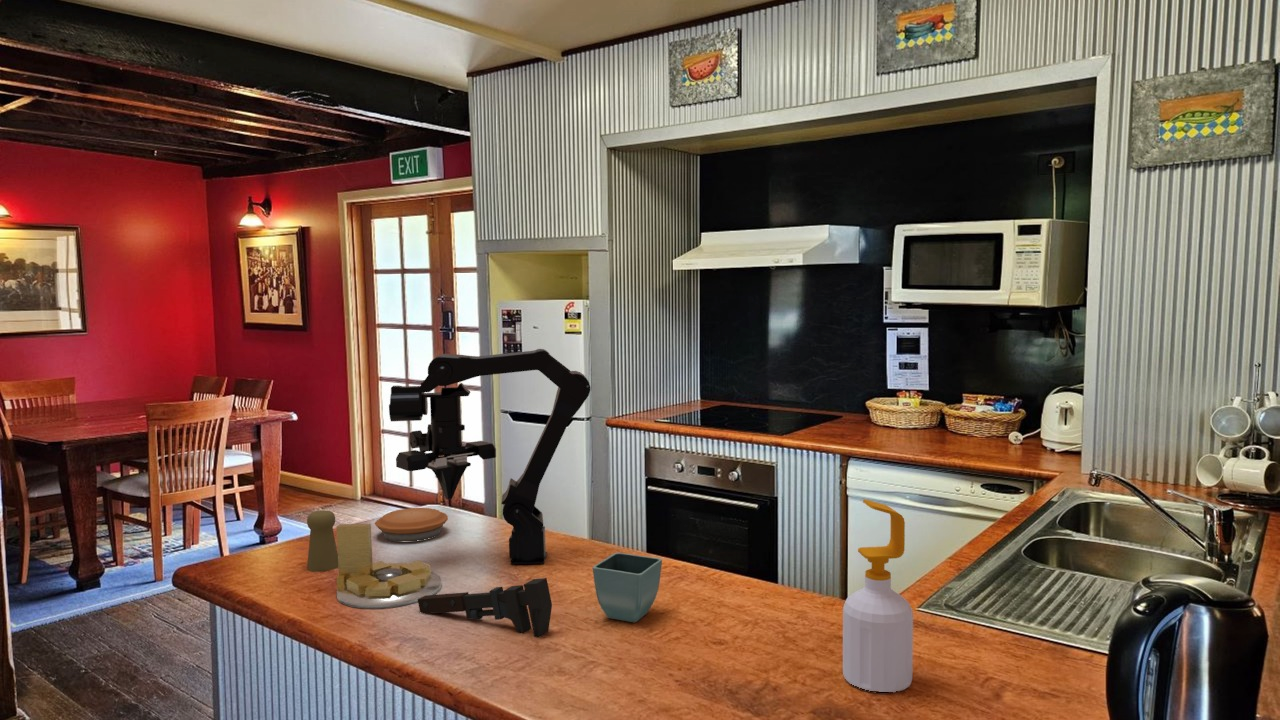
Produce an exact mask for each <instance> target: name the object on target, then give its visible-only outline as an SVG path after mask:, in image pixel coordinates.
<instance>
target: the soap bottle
mask: <svg viewBox="0 0 1280 720" xmlns="http://www.w3.org/2000/svg"><path fill="white" fill-rule="evenodd" d="M862 503H863V504H865V506H867V507H869V508H870V509H872V510H875V511H878V512H882V513H886V514H889V516H890V538H889V543H888V544H887V545H884V546H864V547H858V548H857V552H858V553H859V555H861V556H862V557H863V558H864V559H866V560H867V562H869V563H871V568H869V569H868V568H867V569H866V570H865V571H864V572H865V573H864V574H865V575H864V580H865V581H864V586H863V588H860V589H858V590H856V591H854V592H852V594H850V595H848V597H847V598H846V599H845V602H844V605H843V607H842V674H843V677H844V680H845V679H846V680H845V681H846V682H848V683H849V684H850V685H851V684H852V685H851V686H853V685H854V686H853V687H855V686H857V687H859V688H858V689H860V688H862V689H865V690H864V691H866V690H869V691H868V692H870V691H879V692H893V693H896V691H898V692H901V691H905V689H908V688H909V687H910V686H911V685H912V681H913V657H914V656H913V652H914V650H913V649H914V648H913V645H914V643H913V642H914V637H913V636H914V612H913V609H912V606H911V605H910V602H909V601H908V600H907V599H905V597H904V596H903V595H901V594H900V593H898V592H896V591H895V590H893V589H892V588H891V587H892V586H891V585H892V583H891V581H892V579H891V578H892V577H891V575H892V574H891V572H890V571H889V570H887V569H885V565H886V564H888V563H889V561H890V560H891V559H892V560H893V559H899V558H901V557H902V556H903V555H904V553H905V538H906V537H905V536H906V535H905V533H906V531H905V530H906V528H905V527H906V526H905V525H906V522H905V518H904V517H903V515H902V514H900V513H899V512H898V511H896V510H894V509H893V508H892V507H891V506H888V505H887V504H884V503H880V502H878V501H872V500H870V499H865V498H864V499H863V500H862ZM857 687H856V688H857ZM862 689H861V690H862Z"/></svg>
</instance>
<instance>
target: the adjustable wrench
mask: <svg viewBox="0 0 1280 720" xmlns="http://www.w3.org/2000/svg"><path fill="white" fill-rule="evenodd" d="M549 588H550V587H549V583H548V579H547V577H543V578H532V579H531V580H529V581H527V582H526V583H523V584H522V585H511V586H509V587H508V588H505V589H504V587H503V586H497V587H496V586H495V587H494V588H492V589H491V590H489V592H478V593H469V592H467V591H466V592H455V593H454V592H453V593H440V594H435V595H426V596H423V597H421V598H419V599H418V602H417V605H418V609H419V613H420V612H421V614H424V613H425V615H426V614H427V615H428V614H445V613H455V612H456V613H459V612H465V616H466V619H471V620H473V621H474V620H476V621H477V620H482V619H483V617H488V616H489V617H491V616H492V617H493V616H494V620H495V621H496V620H498V621H499V620H503V619H508V620H510V621H511V622H512V624H513V626H514V628H515V629H516V631H517V634H521V633H522V634H523V635H524V634H525V633H527V632H529V631H530V630H531V629H532V631H533V636H534V637H533V638H540V637H542V636H543V635H545V634H547V633H548V632H549V628H550V622H551V615H552V608H553V603H552V598H551V594H550V589H549ZM489 608H492V609H489Z"/></svg>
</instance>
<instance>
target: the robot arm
mask: <svg viewBox="0 0 1280 720" xmlns="http://www.w3.org/2000/svg"><path fill="white" fill-rule="evenodd" d="M531 371H539V372H540V373H541V374H543V375H544V376H545V377H546V378H547V379H548V380H549V381H551V383H553V385H556V386H557V391H556V394H555V398H554V403H553V405H552V406H553V407H552V411H551V413H550V416H549V417H548V420H547V421H546V423H545V426H544V428H543V430H542V432H541V435H540V437H539V438H538V441H537V443H536V445H535V447H534V449H533V452H532V454H531V456H530V458H529V461H528V462H527V464H526V466H525V469H524V471H523V473H522V474H521V475H520V477H519V478H518V479H517V480H515V479H513V478H510V479H509V482H508V486H507V489H506V490H505V492H504V493H503V494H501V505H502V517H503V519H504V520H505V522H506V523H507V524H508V525H511V526H512V530H511V535H510V536H509V538H508V551H509V552H508V554H509V560H510V564H511V565H543V564H545V562H546V558H547V556H548V551H546V526H544V517H543V516H544V515H543V512H542V511H541V510H539V508H537V506H535V505H536V501H537V497H538V494H539V488H540V484H541V482H542V481H543V478H544V476H545V474H546V472H547V470H548V467H549V466H550V463H551V461H552V459H553V457H554V454H555V453H556V450H557V448H558V446H559V444H560V442H561V439H562V437H563V436H564V434H565V432H566V429H567V426H568V425H569V422H570V421H571V420H572V419H573V417H574V416H575V415H576V413H577V412H578V411H579V410H580V409H581V407H582V406H583V404H584V403H585V402H586V400H587V399H588V397H589V395H590V392H591V385H590V382H589V379H587V377H586V375H585V374H584V373H582V372H580V371H577V370H570V369H569V368H567V367H566V366H565V365H564V364H562V363H561V362H560V361H558V359H556V358H555V357H554V356H552V355H551V353H550V352H549V351H548V350H546V349H544V348H537V349H535V350H528V351H517V352H510V353H509V352H508V353H507V352H506V353H499V354H491V355H490V354H489V355H488V354H487V355H478V356H477V355H476V356H475V355H467V354H466V355H465V354H456V353H455V354H453V353H442V354H439V355H437V356H436V357H434V358H433V359H432V360H431V361H430V363H429V364H428V367H427V376H426V377H425V379H424V380H422V381H421V382H420V385H410V386H409V385H408V386H407V385H406V386H402V385H392V386H391V387H390V395H389V396H390V397H389V404H388V413H389V419H390V422H413V421H414V422H416V421H419V422H420V421H422V419H423V417H424V416H428V410H429V409H428V408H429V405H430V423H429V424H427V432H425V433H423V431H422V430H414V431H413V430H412V431H410V432H409V445H410V448H411V449H415V450H406V451H401V452H398V454H397V456H396V458H395V461H396V462H395V465H396V468H398V469H401V470H404V471H408V472H414V471H415V472H416V471H422V470H425V469H429V470H431V471H432V472H433V473H434V476H435V477H436V479H437V480H438V483H439V485H440V488H441V491H442V493H443V495H444V498H445V500H452V499H453V497H454V496H455V492H456V490H457V488H458V485H459V483H460V481H461V479H462V477H463V475H464V473H465V471H466V469H467V468H468V467H471V464H472V463H471V462H469V461H468V457H469V458H470V457H475V456H476V457H477V456H478V457H479V458H481V459H482V460H489V459H496V458H497V448H496V445H494V444H493V443H492V442H488V441H484V440H477V441H469V442H466V443H465V445H463V435H462V434H463V433H462V432H463V431H465V430H466V429H465V428H466V427H465V424H462V407H461V406H462V405H461V402H462V401H461V397H469V396H470V394H471V391H470V390H469V389H468V388H467V387H465V385H464V383H463V382H465V381H468V380H471V379H473V378H477V377H483V376H491V375H501V374H509V373H510V374H512V373H519V372H521V373H522V372H531ZM457 383H459V384H458V386H454V387H452V386H451V387H446V386H450V385H455V384H457ZM437 387H441V390H440V392H432V391H433V390H434V389H436V388H437ZM428 398H429V402H430V403H429V402H428ZM428 404H429V405H428ZM417 448H418V449H419V450H417ZM427 452H428V453H427Z"/></svg>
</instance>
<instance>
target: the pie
mask: <svg viewBox="0 0 1280 720" xmlns="http://www.w3.org/2000/svg"><path fill="white" fill-rule="evenodd" d="M448 520H449V517H448V514H447V513H445V512H442V511H440V510H439V509H436V508H431V507H410V508H409V507H408V508H403V509H397V510H393V511H390V512H387V513H385V514H384V515H383V516H382V517H380V518H378V519H377V520H376V521H375V522H374V525H375V526H376V528H377V529H378V530H380V531H381V533H382V534H383V535H384V536H385V538H386V539H387V540H388V539H389V541H390V540H391V542H394V541H417V540H423V541H425V540H424V539H427V540H429V539H428V538H431V539H433V538H435V537H437V536H438V535H439V534H440V532H441V530H442V529H443V527H444V524H446V522H447V521H448ZM434 536H435V537H434ZM432 537H433V538H432ZM417 542H418V541H417Z"/></svg>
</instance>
